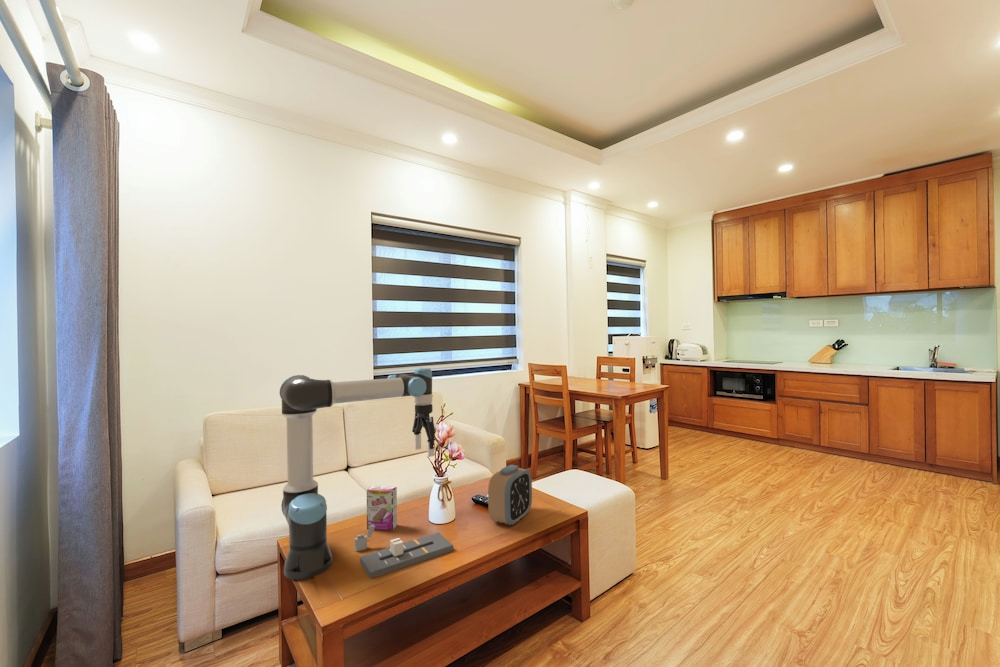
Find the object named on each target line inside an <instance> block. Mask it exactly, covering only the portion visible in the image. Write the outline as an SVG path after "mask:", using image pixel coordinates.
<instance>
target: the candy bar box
mask: <svg viewBox="0 0 1000 667" xmlns="http://www.w3.org/2000/svg"><path fill="white" fill-rule="evenodd" d="M397 490H398V488H397V486H387V485H383V486H382V485H370V486H369V487H368V488H367V489H366V529H367V530H369V528H370V526H371V524H372V525H375V529H374V530H377V531H394V529H395V528H396V527H397V526H398V502H397V501H398V497H397V495H398V493H397Z"/></svg>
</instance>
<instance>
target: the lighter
mask: <svg viewBox="0 0 1000 667" xmlns="http://www.w3.org/2000/svg"><path fill="white" fill-rule="evenodd" d="M374 529H375V525H372V524H371V526H370V528H369V529H367V533H366V535H364V533H360V534H358V535H357V536H356V537H354V552H359V551H364V550H367V549H368V538H372V535H373V533H374Z"/></svg>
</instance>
